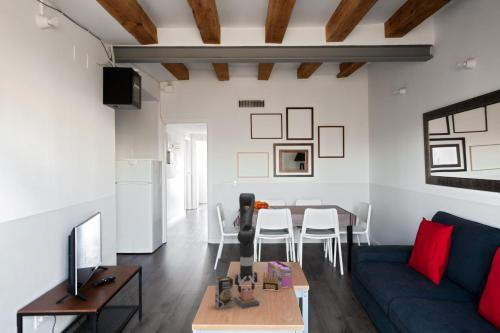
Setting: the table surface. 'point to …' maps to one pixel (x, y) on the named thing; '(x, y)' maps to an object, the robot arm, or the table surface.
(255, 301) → the post stand
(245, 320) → the table surface
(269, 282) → the ammunition clip
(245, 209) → the robot arm
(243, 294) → the collar
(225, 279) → the coffee box
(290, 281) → the gum box
